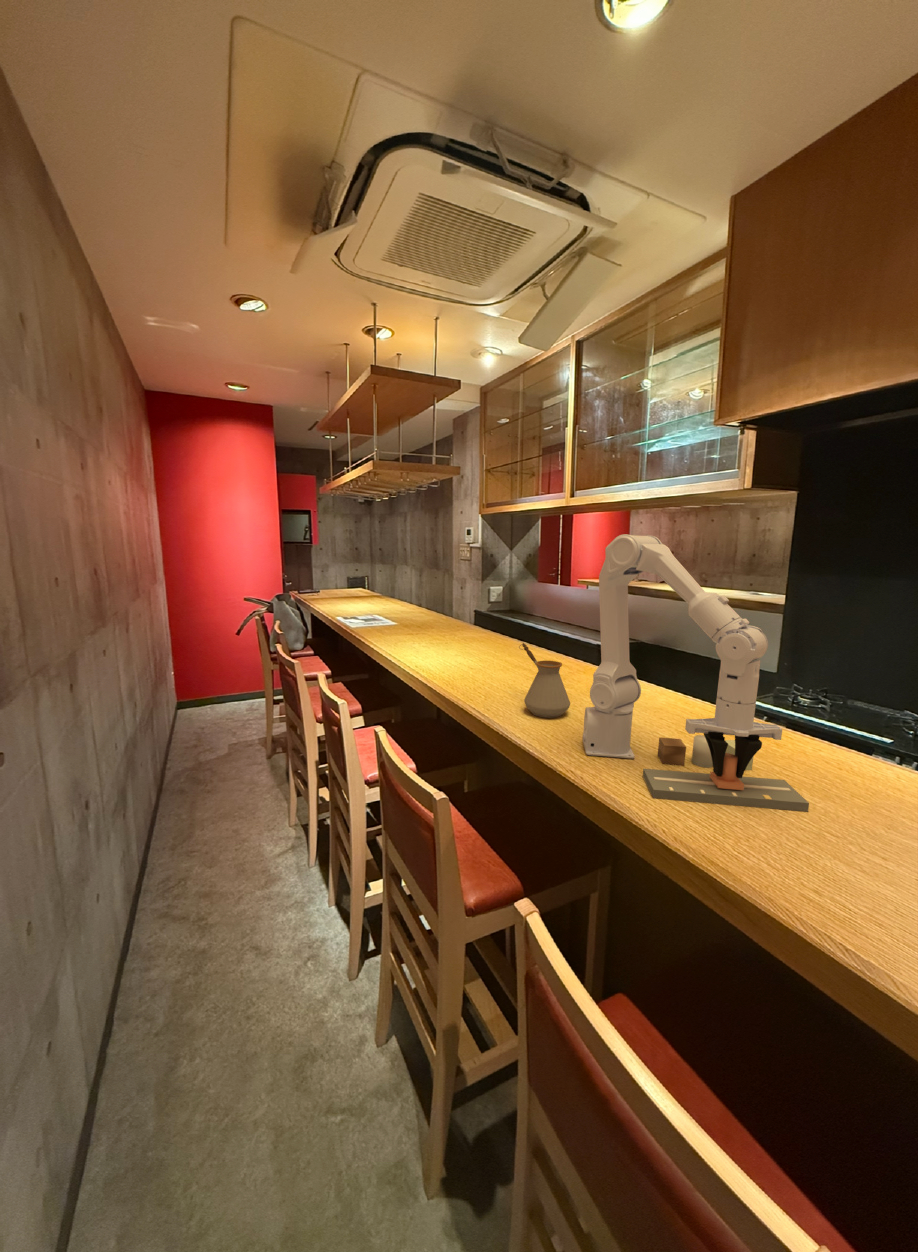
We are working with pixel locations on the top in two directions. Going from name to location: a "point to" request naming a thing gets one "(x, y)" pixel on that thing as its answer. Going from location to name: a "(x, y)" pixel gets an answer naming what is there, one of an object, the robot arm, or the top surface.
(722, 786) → the counter slider
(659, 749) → the walnut block
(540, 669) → the coffee pot
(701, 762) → the grey cylinder
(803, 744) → the top surface
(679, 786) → the slate board
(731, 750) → the sage block
